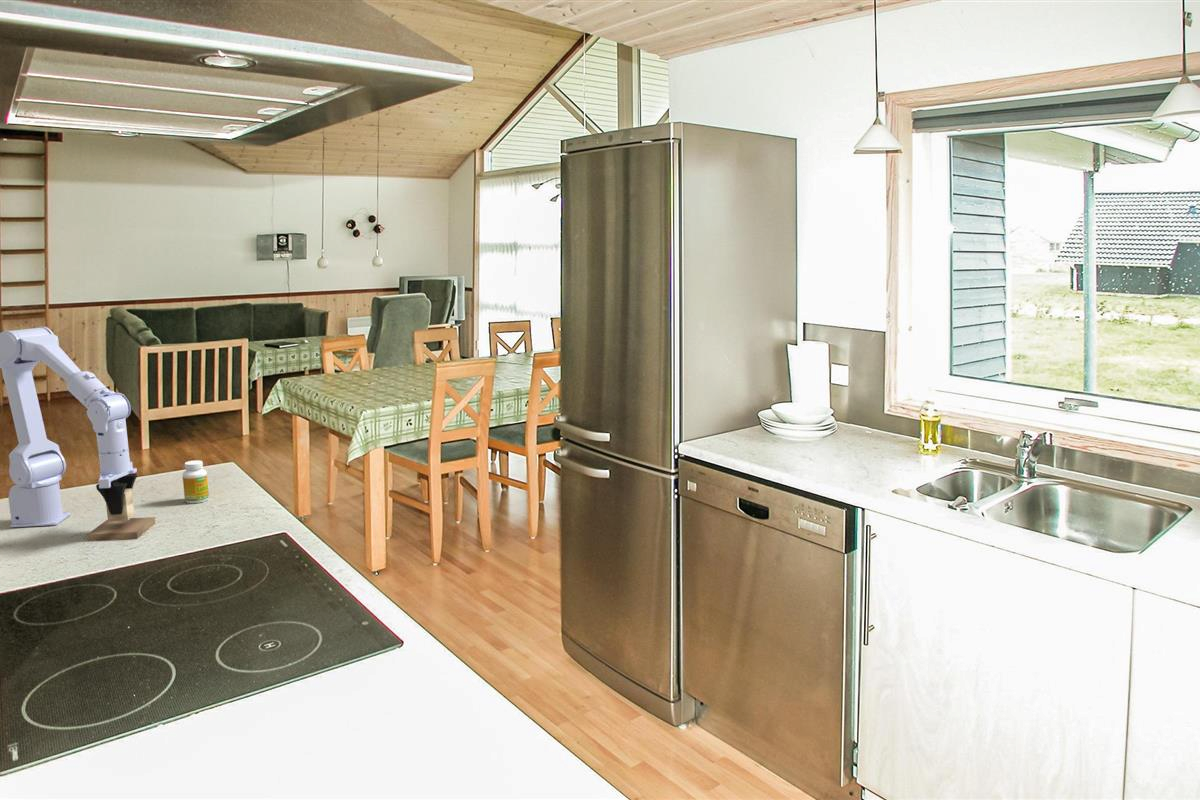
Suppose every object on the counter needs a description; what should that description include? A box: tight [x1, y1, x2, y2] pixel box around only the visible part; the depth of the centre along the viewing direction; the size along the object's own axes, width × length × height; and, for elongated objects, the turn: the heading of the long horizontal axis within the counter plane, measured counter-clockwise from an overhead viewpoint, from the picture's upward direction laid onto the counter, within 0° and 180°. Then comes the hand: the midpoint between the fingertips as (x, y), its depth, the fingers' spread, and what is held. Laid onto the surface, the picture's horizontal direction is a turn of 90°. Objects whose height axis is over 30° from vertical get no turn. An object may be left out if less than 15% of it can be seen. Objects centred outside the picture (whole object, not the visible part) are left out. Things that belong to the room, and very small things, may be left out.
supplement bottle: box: [182, 459, 210, 504], centre depth 209 cm, size 5×5×10 cm
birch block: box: [105, 488, 135, 521], centre depth 187 cm, size 4×4×6 cm
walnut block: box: [86, 516, 156, 541], centre depth 188 cm, size 10×10×2 cm
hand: (120, 510), depth 187 cm, fingers closed on birch block, 4 cm apart
